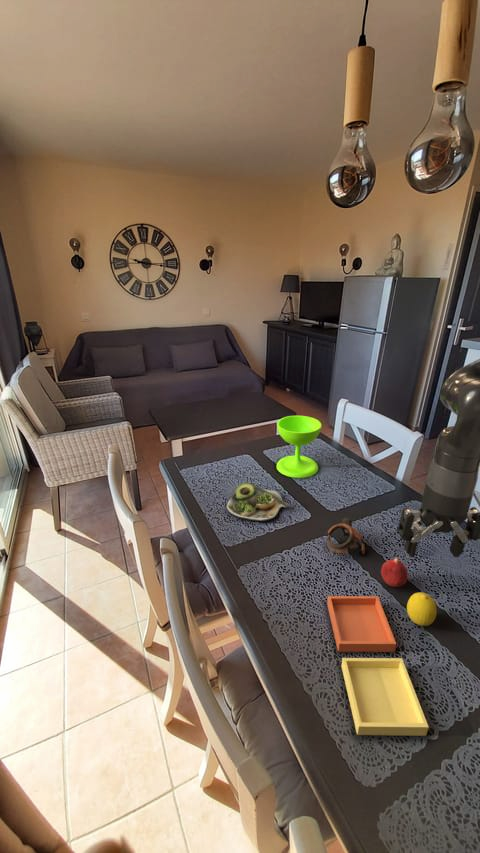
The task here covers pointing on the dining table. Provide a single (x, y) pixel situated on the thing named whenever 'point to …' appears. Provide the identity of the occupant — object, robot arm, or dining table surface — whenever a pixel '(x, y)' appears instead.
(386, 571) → the onion
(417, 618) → the lemon
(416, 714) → the cream tray
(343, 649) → the terracotta tray
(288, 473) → the wineglass
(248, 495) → the salad plate
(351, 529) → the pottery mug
